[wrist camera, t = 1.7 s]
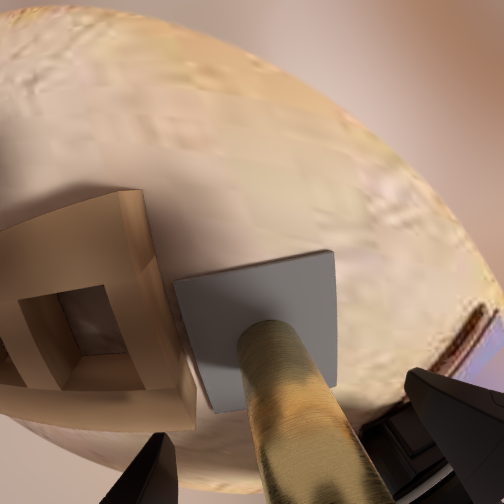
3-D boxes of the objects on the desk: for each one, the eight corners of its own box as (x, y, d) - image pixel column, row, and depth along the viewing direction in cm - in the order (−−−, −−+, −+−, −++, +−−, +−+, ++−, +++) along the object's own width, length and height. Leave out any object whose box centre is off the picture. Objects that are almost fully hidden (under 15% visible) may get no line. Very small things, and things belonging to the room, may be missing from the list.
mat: (334, 382, 14) (336, 385, 14) (214, 410, 13) (215, 414, 13) (331, 250, 12) (333, 252, 12) (173, 280, 11) (172, 283, 11)
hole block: (196, 387, 13) (195, 429, 10) (17, 388, 11) (-1, 413, 8) (142, 189, 10) (117, 191, 7) (-39, 252, 9) (-69, 265, 6)
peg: (301, 363, 13) (390, 536, 3) (242, 376, 12) (286, 570, 3) (296, 313, 12) (424, 508, 2) (231, 327, 12) (277, 563, 2)
